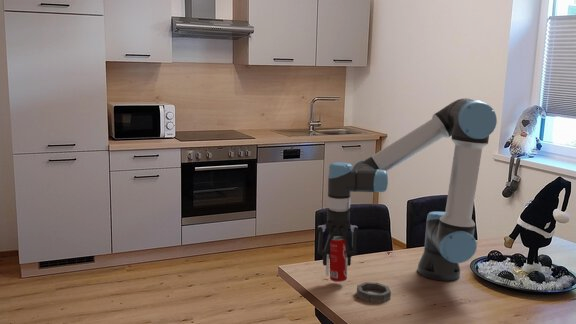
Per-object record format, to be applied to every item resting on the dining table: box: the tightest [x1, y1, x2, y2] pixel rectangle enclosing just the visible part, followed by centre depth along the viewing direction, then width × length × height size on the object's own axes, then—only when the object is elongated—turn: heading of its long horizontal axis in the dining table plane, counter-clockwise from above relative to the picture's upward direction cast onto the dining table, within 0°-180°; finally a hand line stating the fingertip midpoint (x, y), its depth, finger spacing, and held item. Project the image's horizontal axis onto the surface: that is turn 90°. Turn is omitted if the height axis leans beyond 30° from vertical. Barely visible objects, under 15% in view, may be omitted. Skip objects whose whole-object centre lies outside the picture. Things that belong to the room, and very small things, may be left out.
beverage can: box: [328, 236, 348, 283], centre depth 191 cm, size 6×6×15 cm
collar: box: [356, 281, 392, 304], centre depth 184 cm, size 10×10×2 cm
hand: (336, 274), depth 192 cm, fingers closed on beverage can, 6 cm apart
